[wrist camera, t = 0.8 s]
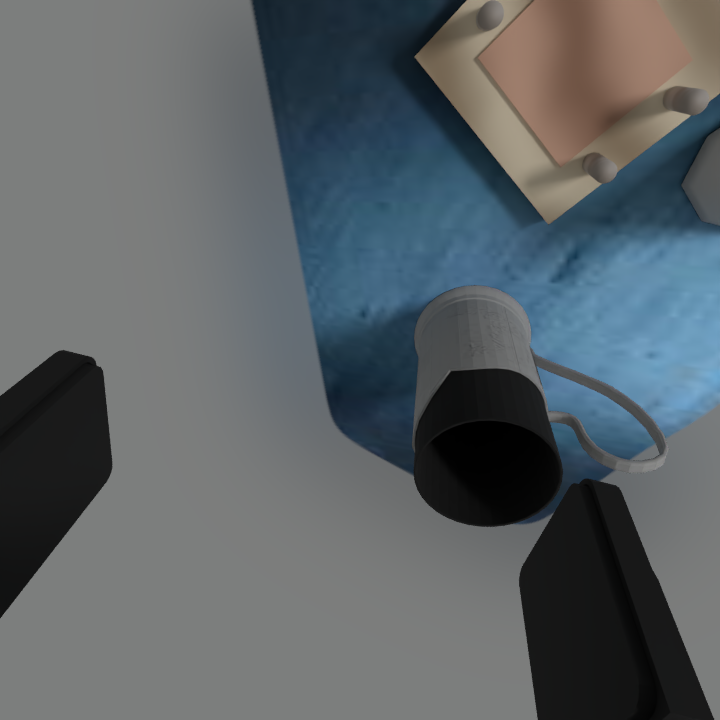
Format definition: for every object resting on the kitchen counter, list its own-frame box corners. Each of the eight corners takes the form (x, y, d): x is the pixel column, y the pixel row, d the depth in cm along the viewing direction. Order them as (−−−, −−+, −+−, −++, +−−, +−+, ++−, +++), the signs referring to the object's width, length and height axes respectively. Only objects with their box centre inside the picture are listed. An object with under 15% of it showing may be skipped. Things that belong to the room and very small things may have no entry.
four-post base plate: (621, -166, 24) (650, -202, 21) (750, 60, 28) (793, 61, 25) (415, 56, 30) (411, 57, 27) (545, 219, 34) (557, 238, 30)
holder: (414, 284, 37) (401, 403, 25) (619, 287, 35) (720, 417, 23) (413, 384, 42) (401, 528, 29) (595, 391, 40) (668, 549, 27)
